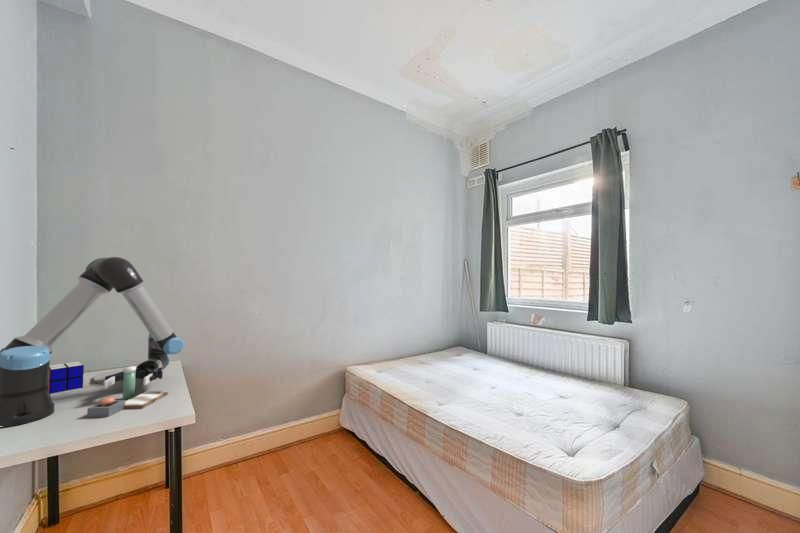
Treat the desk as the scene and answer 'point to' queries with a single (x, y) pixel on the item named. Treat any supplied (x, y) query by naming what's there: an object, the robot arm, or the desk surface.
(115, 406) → the button box
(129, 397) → the green bottle
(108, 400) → the button
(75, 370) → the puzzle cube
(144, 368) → the robot arm
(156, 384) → the desk surface
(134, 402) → the open book
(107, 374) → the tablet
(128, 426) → the desk surface
